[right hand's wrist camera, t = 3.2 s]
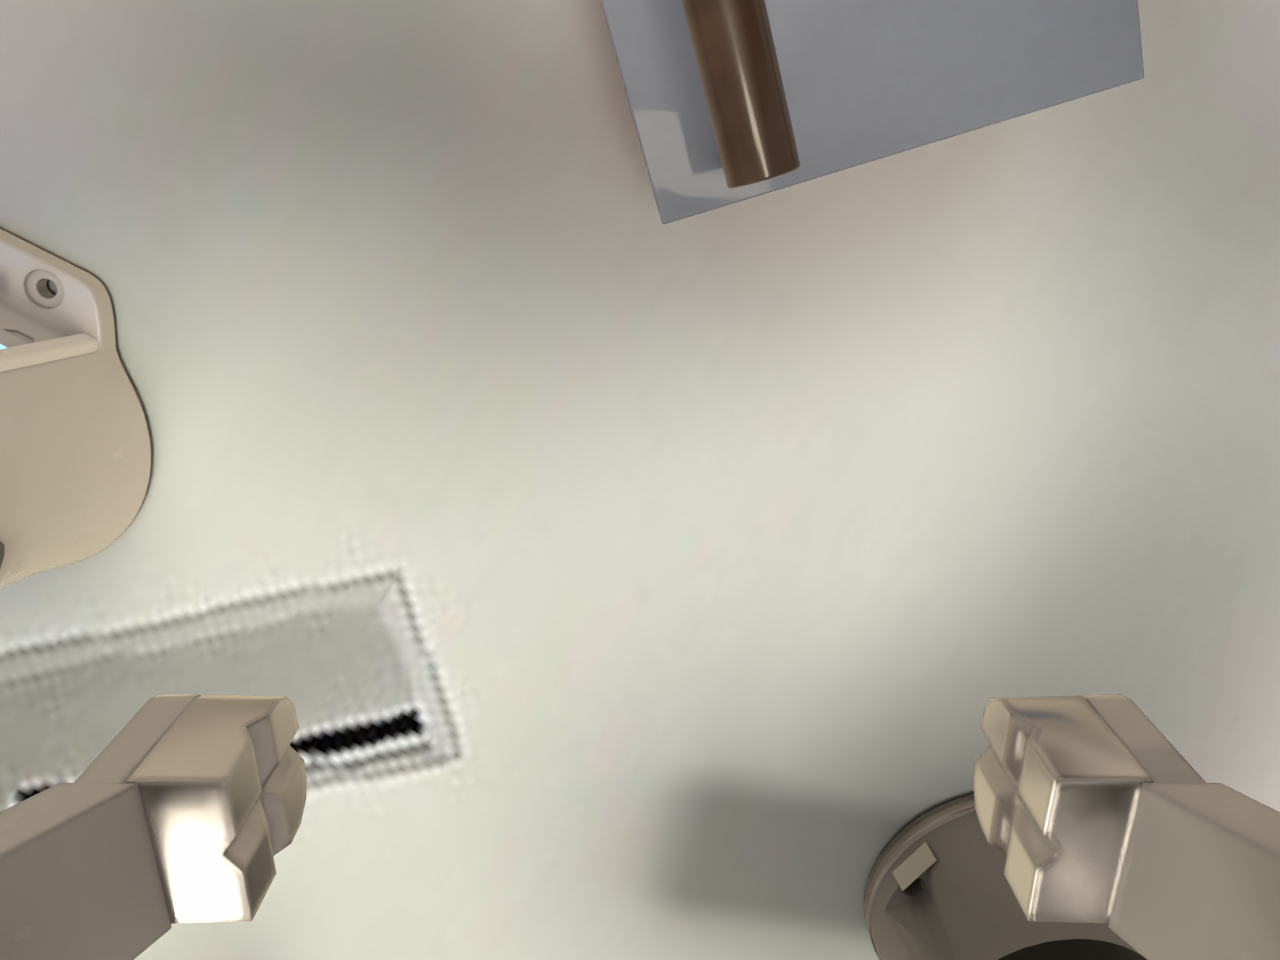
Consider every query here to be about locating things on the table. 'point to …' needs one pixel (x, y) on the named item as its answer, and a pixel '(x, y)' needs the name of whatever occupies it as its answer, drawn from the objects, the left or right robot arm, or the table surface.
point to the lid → (844, 81)
